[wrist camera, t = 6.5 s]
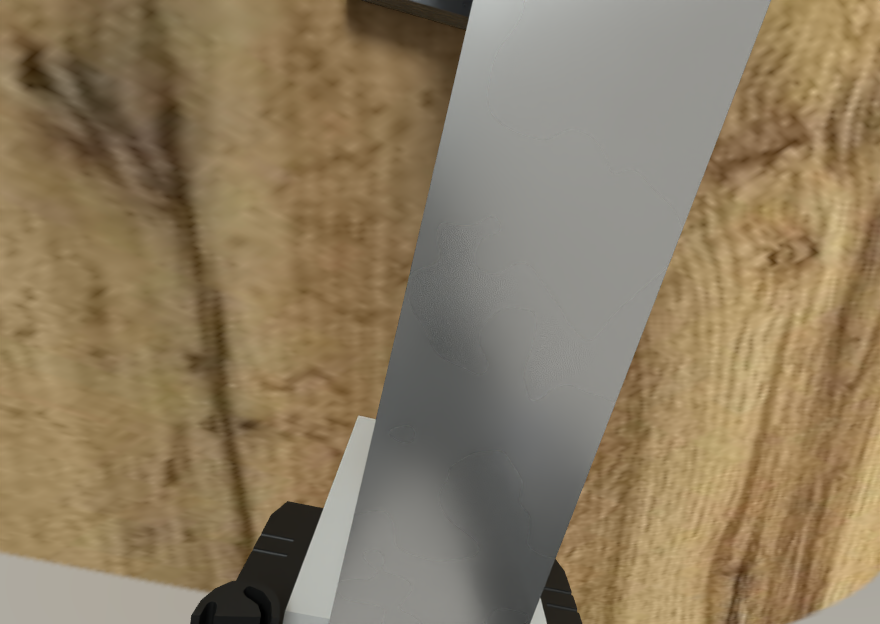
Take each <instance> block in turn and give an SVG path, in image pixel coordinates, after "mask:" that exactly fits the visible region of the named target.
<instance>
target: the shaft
mask: <svg viewBox="0 0 880 624" xmlns="http://www.w3.org/2000/svg"><path fill="white" fill-rule="evenodd" d="M770 1H771V0H473V3H472V7H471V12H470V16H469V20H468V25H467V29H466V33H465V38H464V42H463V46H462V51H461V55H460V59H459V63H458V68H457V72H456V76H455V81H454V85H453V89H452V94H451V98H450V102H449V107H448V111H447V115H446V120H445V124H444V128H443V133H442V137H441V141H440V145H439V150H438V154H437V158H436V163H435V167H434V171H433V176H432V180H431V184H430V189H429V193H428V197H427V202H426V206H425V210H424V214H423V219H422V223H421V227H420V232H419V236H418V240H417V245H416V249H415V253H414V258H413V262H412V266H411V271H410V275H409V279H408V284H407V288H406V292H405V296H404V301H403V305H402V309H401V314H400V318H399V322H398V327H397V331H396V335H395V340H394V344H393V348H392V353H391V357H390V361H389V366H388V370H387V374H386V378H385V383H384V387H383V391H382V396H381V400H380V404H379V409H378V413H377V417H376V422H375V426H374V430H373V435H372V439H371V443H370V447H369V452H368V456H367V460H366V465H365V469H364V473H363V478H362V482H361V486H360V491H359V495H358V499H357V504H356V508H355V512H354V517H353V521H352V525H351V529H350V534H349V538H348V542H347V547H346V551H345V555H344V560H343V564H342V568H341V573H340V577H339V581H338V586H337V590H336V594H335V599H334V603H333V607H332V611H331V616H330V620H329V624H530V623H531V620H532V618H533V615H534V612H535V610H536V607H537V605H538V602H539V599H540V597H541V594H542V592H543V589H544V587H545V584H546V581H547V579H548V576H549V574H550V571H551V568H552V566H553V563H554V561H555V558H556V555H557V553H558V550H559V548H560V545H561V542H562V540H563V537H564V535H565V532H566V530H567V527H568V524H569V522H570V519H571V517H572V514H573V511H574V509H575V506H576V504H577V501H578V498H579V496H580V493H581V491H582V488H583V486H584V483H585V480H586V478H587V475H588V473H589V470H590V467H591V465H592V462H593V460H594V457H595V454H596V452H597V449H598V447H599V444H600V442H601V439H602V436H603V434H604V431H605V429H606V426H607V423H608V421H609V418H610V416H611V413H612V410H613V408H614V405H615V403H616V400H617V397H618V395H619V392H620V390H621V387H622V385H623V382H624V379H625V377H626V374H627V372H628V369H629V366H630V364H631V361H632V359H633V356H634V353H635V351H636V348H637V346H638V343H639V341H640V338H641V335H642V333H643V330H644V328H645V325H646V322H647V320H648V317H649V315H650V312H651V309H652V307H653V304H654V302H655V299H656V297H657V294H658V291H659V289H660V286H661V284H662V281H663V278H664V276H665V273H666V271H667V268H668V265H669V263H670V260H671V258H672V255H673V252H674V250H675V247H676V245H677V242H678V240H679V237H680V234H681V232H682V229H683V227H684V224H685V221H686V219H687V216H688V214H689V211H690V208H691V206H692V203H693V201H694V198H695V196H696V193H697V190H698V188H699V185H700V183H701V180H702V177H703V175H704V172H705V170H706V167H707V164H708V162H709V159H710V157H711V154H712V152H713V149H714V146H715V144H716V141H717V139H718V136H719V133H720V131H721V128H722V126H723V123H724V120H725V118H726V115H727V113H728V110H729V107H730V105H731V102H732V100H733V97H734V95H735V92H736V89H737V87H738V84H739V82H740V79H741V76H742V74H743V71H744V69H745V66H746V63H747V61H748V58H749V56H750V53H751V51H752V48H753V45H754V43H755V40H756V38H757V35H758V32H759V30H760V27H761V25H762V22H763V19H764V17H765V14H766V12H767V9H768V6H769V4H770Z"/></svg>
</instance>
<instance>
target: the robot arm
mask: <svg viewBox="0 0 880 624" xmlns="http://www.w3.org/2000/svg"><path fill="white" fill-rule="evenodd" d="M375 422H376V419H372V418H367V417H363V416H358V418H357V421H356V423H355V426H354V429H353V431H352V434H351V437H350V439H349V442H348V445H347V447H346V450H345V453H344V455H343V458H342V461H341V463H340V466H339V469H338V471H337V474H336V477H335V479H334V482H333V485H332V487H331V490H330V493H329V495H328V498H327V501H326V503H325V506H324V508H319V507H314V506H309V505H304V504H299V503H294V502H289V501H287V502H286V503H285V504H284V505H283V506H281V507H280V508H279V509H278V510H276V511H275V512H274V513H273V514H272V515H271V516H270V518H269V520H268V522H267V524H266V526H265V528H264V529H263V531H262V534H261V536H260V537H259V539H258V541H257V542H256V544H255V546H254V549H253V551H252V552H251V554H250V556H249V557H248V559H247V561H246V563H245V565H244V567H243V569H242V571H241V572H240V574H239V576H238V578H237V580H236V581H231V582H229V583H227V584H224V585H222V586H220V587H218V588H215V589H214V590H213V591H212V592H210V593H209V594H208V595H207V596H206V597H204V598H203V599H202V600H201V601H200V603H199V604H198V606H197V607H196V609H195V611H194V612H193V614H192V615H191V623H190V624H329V620H330V616H331V611H332V607H333V603H334V599H335V594H336V590H337V586H338V581H339V577H340V573H341V568H342V564H343V560H344V555H345V551H346V547H347V542H348V538H349V534H350V529H351V525H352V521H353V517H354V512H355V508H356V504H357V499H358V495H359V491H360V486H361V482H362V478H363V473H364V469H365V465H366V460H367V456H368V452H369V447H370V443H371V439H372V435H373V430H374V426H375ZM530 624H582V621H581V618H580V615H579V613H577V606H576V604H575V601H574V598H573V596H572V595H571V589H570V586H569V583H568V580H567V577H566V574H565V571H564V570H563V569H562V567H561V566H560V564H559V563H558V562H557V560H556V559H555V561H554V563H553V566H552V568H551V571H550V574H549V576H548V579H547V581H546V584H545V587H544V589H543V592H542V594H541V597H540V599H539V602H538V605H537V607H536V610H535V612H534V615H533V618H532V620H531V623H530Z"/></svg>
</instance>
